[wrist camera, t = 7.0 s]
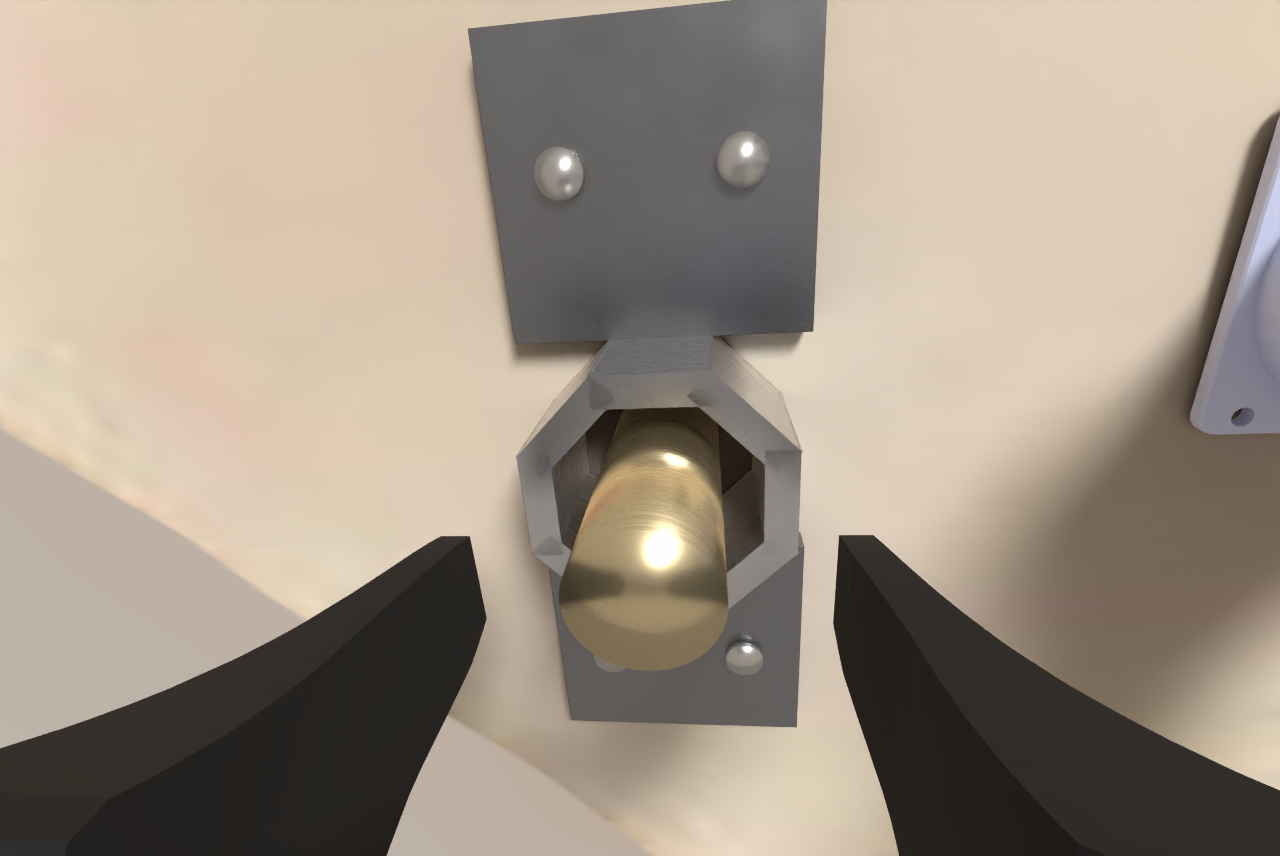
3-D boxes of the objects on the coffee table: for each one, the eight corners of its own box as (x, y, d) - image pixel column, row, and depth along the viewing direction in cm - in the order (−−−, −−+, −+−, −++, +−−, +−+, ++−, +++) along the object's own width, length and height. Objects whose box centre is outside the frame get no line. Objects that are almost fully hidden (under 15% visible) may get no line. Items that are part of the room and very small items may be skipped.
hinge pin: (721, 387, 17) (735, 537, 10) (714, 480, 18) (721, 678, 11) (618, 381, 17) (556, 524, 10) (617, 473, 19) (560, 662, 11)
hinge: (479, 36, 14) (402, -13, 11) (820, 0, 14) (864, -67, 10) (575, 702, 22) (551, 804, 19) (793, 708, 22) (811, 817, 18)
